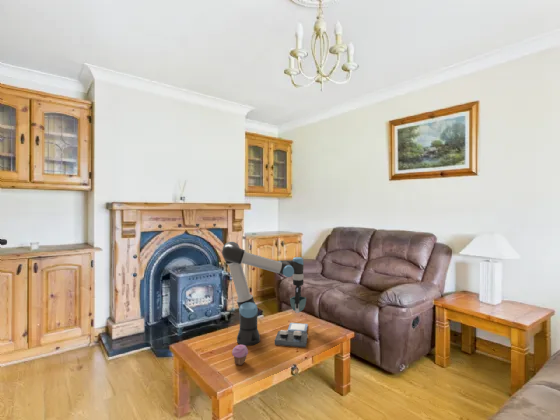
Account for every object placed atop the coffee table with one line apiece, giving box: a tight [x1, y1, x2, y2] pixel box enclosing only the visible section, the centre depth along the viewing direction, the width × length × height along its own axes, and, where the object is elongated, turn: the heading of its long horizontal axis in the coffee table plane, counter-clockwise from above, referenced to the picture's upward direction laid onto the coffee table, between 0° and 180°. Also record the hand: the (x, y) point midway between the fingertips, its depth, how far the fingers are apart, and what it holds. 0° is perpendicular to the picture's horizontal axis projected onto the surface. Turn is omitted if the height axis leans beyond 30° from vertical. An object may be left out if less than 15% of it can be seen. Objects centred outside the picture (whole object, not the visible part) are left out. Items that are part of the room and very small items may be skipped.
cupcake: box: [231, 344, 249, 366], centre depth 172 cm, size 9×9×10 cm
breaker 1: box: [279, 329, 288, 335], centre depth 200 cm, size 4×8×2 cm, turn 170°
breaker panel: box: [274, 330, 309, 348], centre depth 200 cm, size 20×14×4 cm
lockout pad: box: [287, 322, 309, 333], centre depth 219 cm, size 13×13×2 cm
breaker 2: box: [294, 331, 302, 336], centre depth 199 cm, size 4×8×2 cm, turn 170°
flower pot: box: [289, 295, 307, 313], centre depth 218 cm, size 9×9×9 cm
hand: (298, 309), depth 219 cm, fingers closed on flower pot, 10 cm apart
